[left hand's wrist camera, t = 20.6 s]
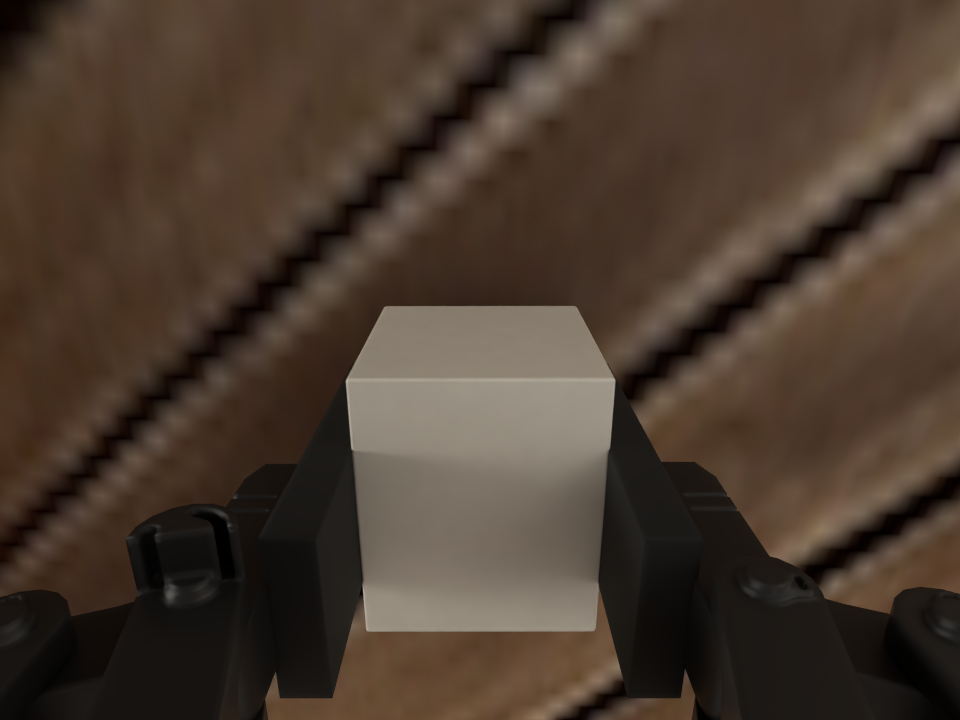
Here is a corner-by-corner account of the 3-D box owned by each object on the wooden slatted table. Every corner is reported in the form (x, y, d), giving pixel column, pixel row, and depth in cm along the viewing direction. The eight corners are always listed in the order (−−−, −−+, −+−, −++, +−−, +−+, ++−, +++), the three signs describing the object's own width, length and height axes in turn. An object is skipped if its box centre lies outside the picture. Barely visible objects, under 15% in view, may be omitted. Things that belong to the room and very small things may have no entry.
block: (395, 502, 16) (365, 633, 12) (384, 305, 14) (344, 379, 10) (566, 502, 16) (596, 632, 12) (576, 305, 14) (616, 378, 10)
